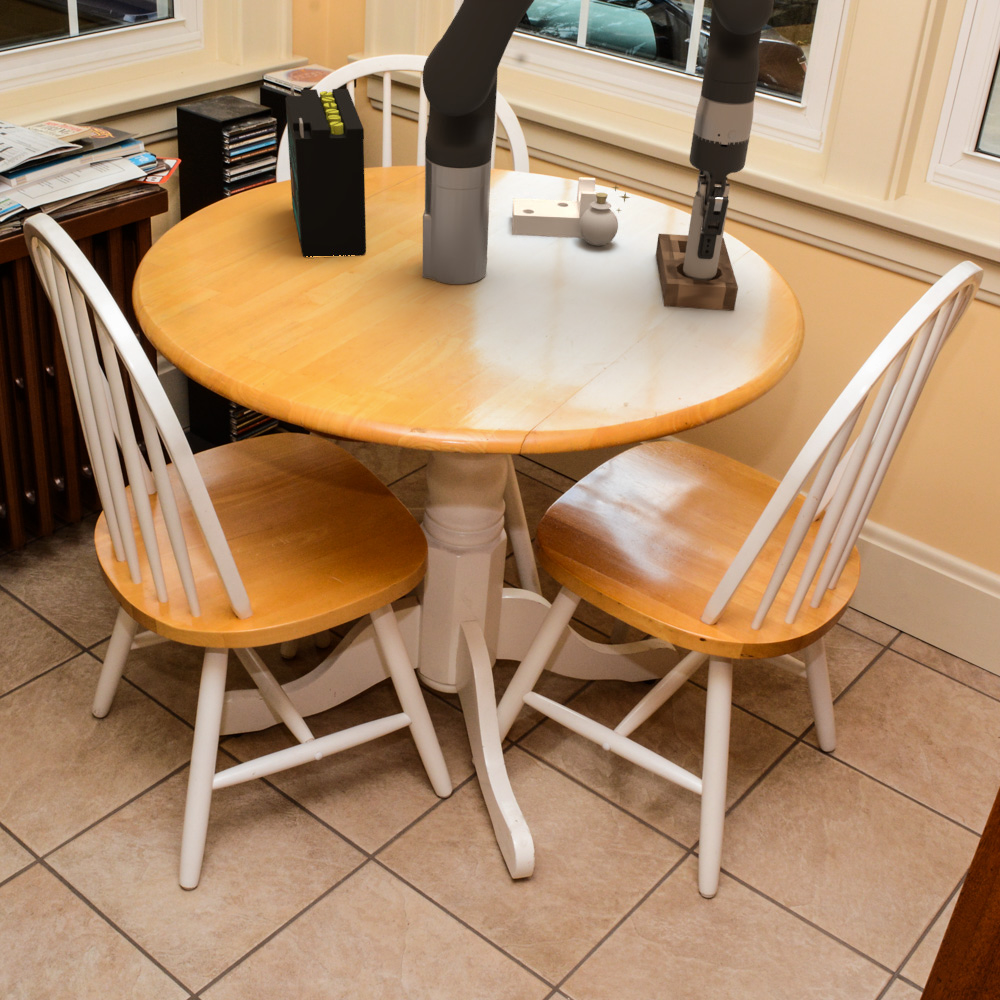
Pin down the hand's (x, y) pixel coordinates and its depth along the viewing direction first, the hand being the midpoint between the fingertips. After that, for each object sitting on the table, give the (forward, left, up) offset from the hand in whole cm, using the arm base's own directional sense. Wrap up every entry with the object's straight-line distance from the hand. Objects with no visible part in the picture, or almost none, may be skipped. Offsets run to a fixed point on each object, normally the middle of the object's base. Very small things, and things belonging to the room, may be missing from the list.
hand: (702, 249), depth 160 cm
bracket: (-21, +21, -7) cm, 31 cm away
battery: (-57, +14, -7) cm, 59 cm away
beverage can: (0, 0, -4) cm, 4 cm away
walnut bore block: (0, +4, -7) cm, 8 cm away
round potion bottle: (-14, +16, -7) cm, 22 cm away
